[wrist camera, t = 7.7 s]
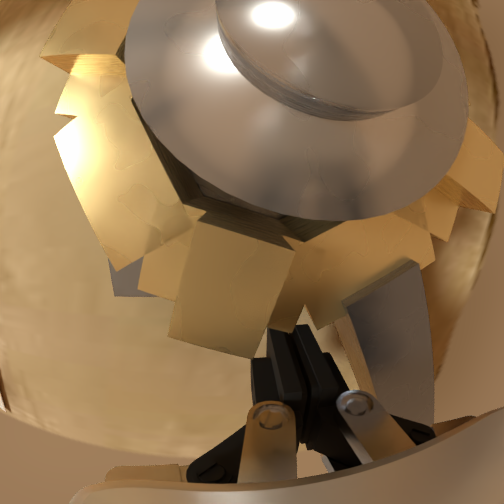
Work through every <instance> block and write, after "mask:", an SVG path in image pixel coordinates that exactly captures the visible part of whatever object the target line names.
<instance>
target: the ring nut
mask: <svg viewBox="0 0 504 504" xmlns="http://www.w3.org/2000/svg"><path fill="white" fill-rule="evenodd" d="M139 1H140V0H72V1H71V3H70V4H69V6H68V7H67V9H66V10H65V12H64V13H63V15H62V16H61V18H60V19H59V21H58V23H57V24H56V26H55V28H54V29H53V31H52V33H51V35H50V37H49V38H48V40H47V42H46V44H45V46H44V48H43V50H42V52H41V54H40V56H39V57H41V58H43V59H44V60H46V61H48V62H50V63H52V64H53V65H55V66H57V67H59V68H61V69H62V70H64V71H66V72H68V73H69V74H70V76H69V78H68V80H67V83H66V85H65V88H64V90H63V93H62V95H61V98H60V100H59V103H58V106H57V109H56V111H55V113H56V114H59V115H62V116H65V117H68V118H71V119H74V120H72V121H71V122H70V123H69V124H68V125H67V126H65V127H64V128H63V129H62V130H61V131H60V132H59V133H58V134H56V135H55V136H54V138H55V141H56V144H57V147H58V150H59V153H60V155H61V158H62V160H63V163H64V166H65V168H66V171H67V173H68V176H69V178H70V180H71V183H72V185H73V187H74V190H75V192H76V194H77V197H78V199H79V201H80V203H81V205H82V207H83V210H84V212H85V214H86V216H87V218H88V220H89V222H90V224H91V226H92V228H93V230H94V232H95V234H96V236H97V238H98V240H99V241H100V243H101V245H102V247H103V249H104V251H105V253H106V254H107V256H108V258H109V260H110V262H111V263H112V265H113V267H114V269H115V270H116V272H117V271H119V270H120V269H122V268H124V267H126V266H127V265H129V264H131V263H132V262H134V261H136V260H137V259H139V258H141V257H143V256H144V258H143V262H142V267H141V272H140V278H139V283H138V290H141V291H144V292H147V293H150V294H153V295H156V296H159V297H162V298H165V299H168V300H171V301H174V302H175V305H174V309H173V314H172V318H171V323H170V327H169V332H168V337H171V338H174V339H177V340H181V341H184V342H187V343H191V344H194V345H198V346H201V347H205V348H208V349H212V350H216V351H220V352H224V353H227V354H232V355H236V356H240V357H244V358H248V359H253V358H254V356H255V353H256V351H257V348H258V346H259V344H260V341H261V339H262V336H263V334H264V331H265V329H266V327H267V328H271V329H275V330H279V331H283V332H288V333H292V332H293V330H294V327H295V325H296V323H297V321H298V318H299V316H300V314H301V312H302V309H303V307H304V306H305V308H306V310H307V312H308V314H309V316H310V317H311V319H312V321H313V323H314V325H315V327H316V329H317V330H319V329H321V328H323V327H325V326H326V325H328V324H330V323H332V322H334V324H335V327H336V329H337V332H338V334H339V337H340V339H341V342H342V344H343V347H344V349H345V352H346V354H347V357H348V360H349V362H350V365H351V367H352V370H353V373H354V375H355V378H356V380H357V383H358V386H359V389H360V390H361V391H366V392H368V393H370V394H371V395H373V396H374V397H375V398H376V399H377V400H378V402H379V403H380V404H381V405H382V406H383V407H384V409H385V410H386V411H387V412H388V413H389V414H391V415H394V416H398V417H401V418H404V419H408V420H411V421H414V422H418V423H422V424H424V425H427V426H429V427H430V426H431V424H434V367H433V352H432V341H431V331H430V323H429V315H428V309H427V302H426V296H425V290H424V285H423V280H422V275H421V270H422V269H423V268H425V267H426V266H427V265H429V264H430V263H432V262H433V261H435V260H436V259H435V254H434V249H433V245H432V240H431V237H434V238H437V239H440V240H442V241H445V242H448V240H449V237H450V234H451V231H452V228H453V225H454V221H455V218H456V214H457V211H458V207H459V206H460V207H465V208H470V209H475V210H480V211H484V212H489V213H494V214H495V211H496V207H497V202H498V198H499V192H500V187H501V181H502V175H503V168H504V154H503V153H502V152H501V150H500V149H499V148H498V147H497V146H496V145H495V144H494V143H493V141H492V140H491V139H490V138H489V137H488V136H487V135H486V134H485V133H484V132H483V131H482V130H481V129H480V128H479V127H478V126H477V125H476V124H475V123H474V122H473V121H471V120H470V119H469V118H468V121H467V128H466V132H465V136H464V140H463V143H462V146H461V148H460V151H459V153H458V156H457V158H456V159H455V161H454V163H453V164H452V166H451V168H450V169H449V171H448V172H447V174H446V175H445V176H444V177H443V178H442V179H441V181H440V182H439V183H438V184H437V185H436V186H435V187H434V188H433V189H431V190H430V191H429V192H428V193H427V194H425V195H424V196H423V197H422V198H420V199H418V200H416V201H415V202H413V203H411V204H410V205H408V206H406V207H404V208H401V209H399V210H396V211H394V212H391V213H388V214H386V215H381V216H377V217H372V218H368V219H363V220H349V221H325V220H310V219H305V218H300V217H295V216H289V215H288V216H286V217H284V218H282V219H280V220H276V219H273V218H270V217H267V216H264V215H261V214H258V213H255V212H252V211H249V210H246V209H243V208H240V207H236V206H233V205H230V204H227V203H224V202H220V201H217V200H214V199H211V198H207V197H204V196H203V195H202V193H201V192H200V190H199V188H198V186H197V184H196V182H195V180H194V178H193V176H192V174H191V172H190V170H189V169H188V167H187V166H186V165H184V164H183V163H182V162H181V161H179V160H178V159H177V158H176V157H175V156H174V155H173V154H172V153H171V152H170V151H169V150H168V149H167V148H166V147H165V146H164V145H163V144H162V143H161V142H160V141H159V139H158V138H157V137H156V136H155V134H154V133H153V131H152V130H151V129H150V127H149V126H148V124H147V123H146V122H145V120H144V119H143V117H142V115H141V113H140V111H139V109H138V107H137V105H136V103H135V101H134V99H133V97H132V93H131V90H130V87H129V83H128V80H127V76H126V67H125V57H124V53H125V41H126V34H127V30H128V27H129V23H130V20H131V17H132V15H133V13H134V10H135V8H136V6H137V4H138V2H139ZM468 104H469V106H470V102H469V100H468Z"/></svg>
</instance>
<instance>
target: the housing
mask: <svg viewBox="0 0 504 504" xmlns="http://www.w3.org/2000/svg"><path fill="white" fill-rule="evenodd" d="M124 57H125V67H126V76H127V80H128V83H129V87H130V90H131V93H132V97H133V99H134V101H135V103H136V105H137V107H138V109H139V111H140V113H141V115H142V117H143V119H144V120H145V122H146V123H147V124H148V126H149V127H150V129H151V130H152V131H153V133H154V134H155V136H156V137H157V138H158V139H159V141H160V142H161V143H162V144H163V145H164V146H165V147H166V148H167V149H168V150H169V151H170V152H171V153H172V154H173V155H174V156H175V157H176V158H177V159H178V160H179V161H181V162H182V163H183V164H184V165H186V166H187V167H188V169H189V170H190V172H191V174H192V176H193V178H194V180H195V182H196V184H197V186H198V188H199V190H200V192H201V193H202V195H203V196H204V197H207V198H211V199H214V200H217V201H220V202H224V203H227V204H230V205H233V206H236V207H240V208H243V209H246V210H249V211H252V212H255V213H258V214H261V215H264V216H267V217H270V218H273V219H276V220H280V219H282V218H284V217H286V216H288V215H289V216H295V217H300V218H305V219H310V220H325V221H349V220H363V219H368V218H372V217H377V216H381V215H386V214H388V213H391V212H394V211H396V210H399V209H401V208H404V207H406V206H408V205H410V204H411V203H413V202H415V201H416V200H418V199H420V198H422V197H423V196H424V195H425V194H427V193H428V192H429V191H430V190H431V189H433V188H434V187H435V186H436V185H437V184H438V183H439V182H440V181H441V179H442V178H443V177H444V176H445V175H446V174H447V172H448V171H449V169H450V168H451V166H452V164H453V163H454V161H455V159H456V158H457V156H458V153H459V151H460V148H461V146H462V143H463V140H464V136H465V132H466V128H467V121H468V110H469V104H468V89H467V83H466V77H465V72H464V69H463V65H462V62H461V59H460V56H459V54H458V51H457V49H456V46H455V44H454V42H453V40H452V38H451V36H450V34H449V33H448V31H447V29H446V27H445V25H444V24H443V23H442V21H441V20H440V18H439V17H438V15H437V14H436V12H435V11H434V10H433V9H432V7H431V6H430V5H429V4H428V3H427V2H426V0H140V1H139V2H138V4H137V6H136V8H135V10H134V13H133V15H132V17H131V20H130V23H129V27H128V30H127V34H126V41H125V53H124ZM143 258H144V256H143V257H141V258H139V259H137V260H136V261H134V262H132V263H131V264H129V265H127V266H126V267H124V268H122V269H120V270H119V271H117V272H116V270H115V269H114V267H113V265H112V263H111V262H110V260H109V258H108V261H109V267H110V273H111V279H112V285H113V290H114V295H115V296H128V297H159V296H156V295H153V294H150V293H147V292H144V291H141V290H138V283H139V278H140V272H141V267H142V262H143Z"/></svg>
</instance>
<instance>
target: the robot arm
mask: <svg viewBox="0 0 504 504" xmlns="http://www.w3.org/2000/svg"><path fill="white" fill-rule="evenodd" d="M251 390H252V400H253V407H252V408H251V409H250V410H249V413H248V416H247V422H246V425H244V426H243V427H242V428H241V429H239V430H238V431H237V432H235V433H234V434H233V435H231V436H230V437H228V438H227V439H226V440H224V441H223V442H221V443H220V444H219V445H217V446H216V447H214V448H213V449H211V450H210V451H208V452H207V453H205V454H204V455H202V456H201V457H199V458H198V459H196V460H195V461H194V462H192V463H191V464H190V465H186V466H179V465H178V464H169V465H151V466H150V465H149V466H117V467H114V468H112V469H110V470H109V471H108V472H107V474H106V476H105V482H101V483H97V484H92V485H89V486H86V487H84V488H82V489H81V490H80V491H79V492H77V493H76V494H75V495H74V497H73V498H72V499H71V501H70V503H69V504H504V407H500V408H497V409H494V410H491V411H489V412H486V413H484V414H481V415H479V416H477V417H475V416H465V417H461V418H457V419H453V420H449V421H444V422H440V423H435V424H431V426H430V427H429V426H427V425H424V424H422V423H418V422H414V421H411V420H408V419H404V418H401V417H398V416H394V415H391V414H389V413H388V412H387V411H386V410H385V409H384V407H383V406H382V405H381V404H380V403H379V402H378V400H377V399H376V398H375V397H374V396H373V395H371V394H370V393H368V392H366V391H361V390H349V388H348V386H347V384H346V382H345V380H344V379H343V377H342V375H341V373H340V371H339V369H338V367H337V365H336V364H335V362H334V360H333V358H332V356H331V354H330V353H328V352H325V353H322V351H321V349H320V347H319V345H318V343H317V341H316V339H315V337H314V335H313V333H312V331H311V329H310V327H309V325H308V324H303V325H295V327H294V330H293V332H292V333H289V334H288V332H283V331H279V330H275V329H271V328H267V355H266V357H264V358H253V359H251ZM299 442H300V443H301V444H303V443H305V444H306V447H307V450H312V449H314V451H317V452H319V453H321V455H320V456H321V459H322V462H323V463H324V465H325V467H326V469H327V471H328V473H326V474H321V475H316V476H310V477H305V478H298V479H297V463H296V462H297V460H296V459H297V458H296V453H297V451H298V447H299Z"/></svg>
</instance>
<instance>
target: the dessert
mask: <svg viewBox="0 0 504 504" xmlns="http://www.w3.org/2000/svg"><path fill="white" fill-rule="evenodd" d="M0 408H1V409H2V410H4V411H5V412H6V409H5V406H4V402H3V399H2V396H1V392H0ZM6 413H7V412H6Z"/></svg>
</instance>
